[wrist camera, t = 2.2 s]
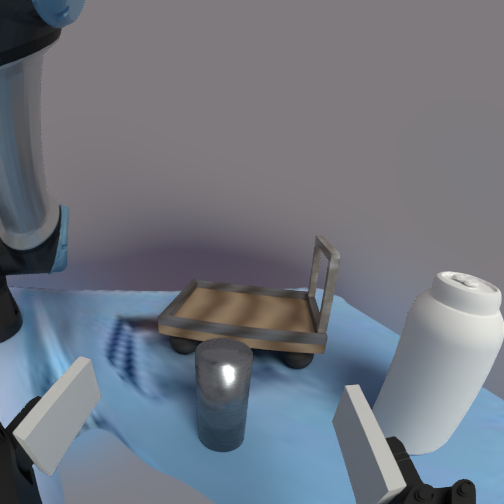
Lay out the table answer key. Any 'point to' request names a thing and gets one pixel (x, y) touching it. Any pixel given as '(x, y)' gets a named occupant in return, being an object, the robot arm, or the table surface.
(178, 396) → the table surface
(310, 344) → the caster cart
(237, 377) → the steel cylinder
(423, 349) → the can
